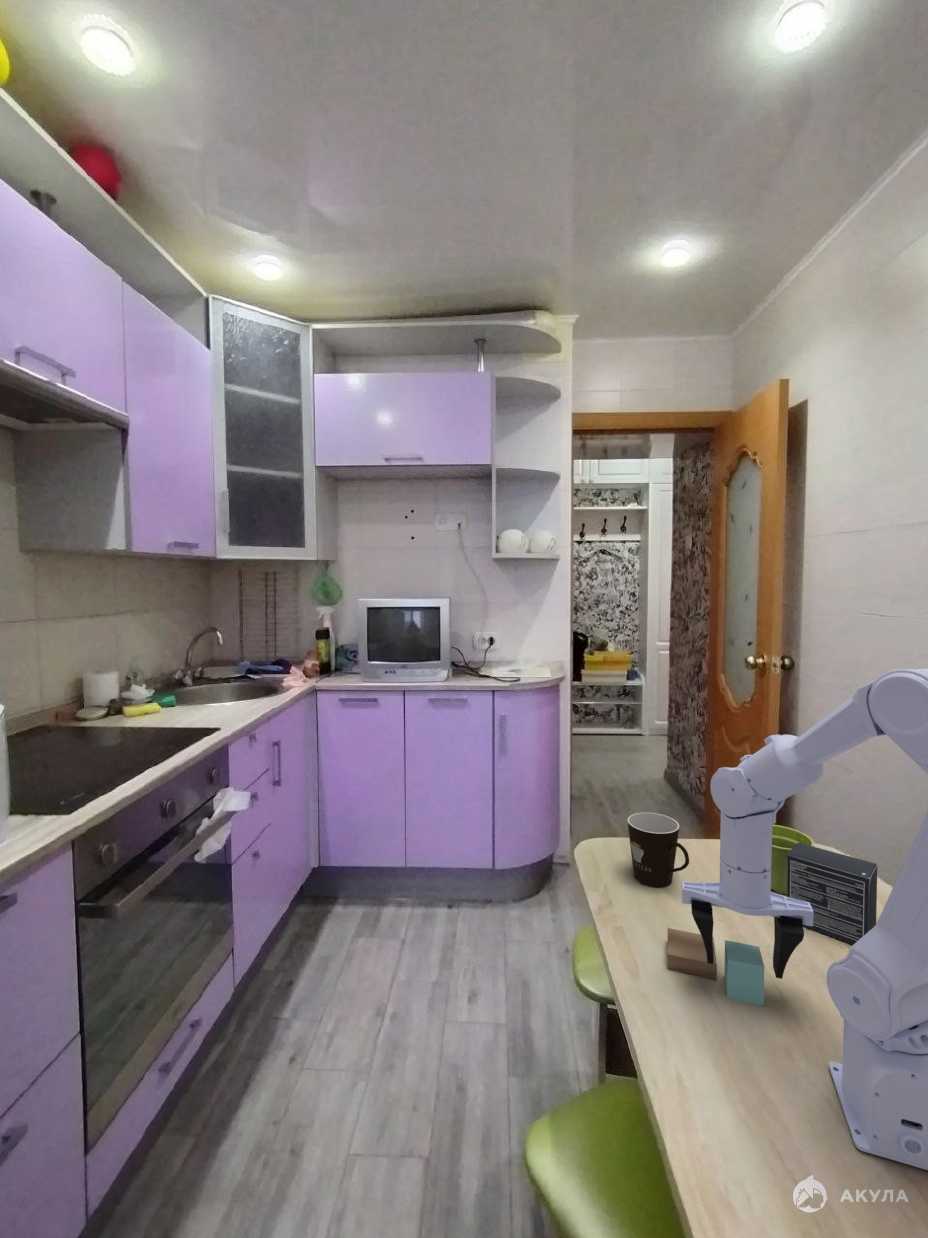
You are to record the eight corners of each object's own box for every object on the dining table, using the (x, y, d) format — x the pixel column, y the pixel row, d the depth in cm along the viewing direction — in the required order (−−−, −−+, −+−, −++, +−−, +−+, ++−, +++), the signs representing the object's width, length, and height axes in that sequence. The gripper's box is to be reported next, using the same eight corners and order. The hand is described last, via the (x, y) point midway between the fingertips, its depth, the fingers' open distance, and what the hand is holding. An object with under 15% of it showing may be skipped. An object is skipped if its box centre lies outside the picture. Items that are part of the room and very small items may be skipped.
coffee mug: (621, 865, 100) (622, 812, 100) (669, 865, 100) (669, 812, 99) (639, 901, 89) (640, 841, 88) (693, 902, 88) (694, 842, 88)
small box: (878, 931, 80) (880, 862, 80) (870, 953, 76) (872, 879, 75) (796, 903, 88) (797, 839, 87) (784, 920, 83) (785, 854, 83)
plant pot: (795, 872, 97) (796, 825, 96) (824, 902, 88) (826, 850, 87) (740, 870, 98) (741, 823, 97) (763, 900, 89) (764, 848, 88)
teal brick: (763, 1006, 66) (764, 967, 66) (727, 998, 68) (727, 959, 67) (758, 984, 70) (759, 946, 70) (724, 976, 71) (724, 940, 71)
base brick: (716, 979, 71) (716, 964, 71) (667, 968, 73) (667, 954, 73) (713, 950, 76) (713, 936, 76) (667, 941, 79) (667, 928, 78)
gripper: (804, 856, 69) (802, 958, 70) (682, 838, 74) (680, 934, 75) (819, 884, 62) (815, 997, 63) (683, 863, 68) (681, 968, 68)
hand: (743, 965), depth 69 cm, fingers open, 7 cm apart
